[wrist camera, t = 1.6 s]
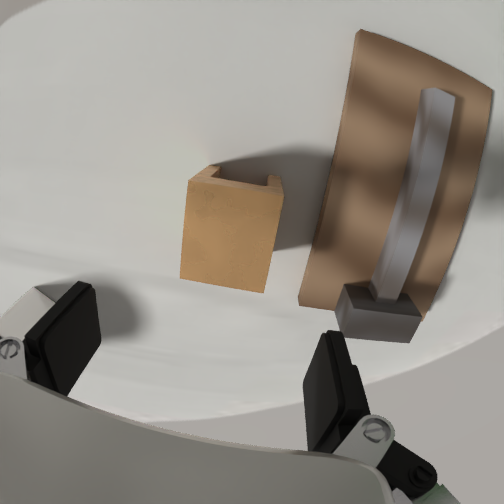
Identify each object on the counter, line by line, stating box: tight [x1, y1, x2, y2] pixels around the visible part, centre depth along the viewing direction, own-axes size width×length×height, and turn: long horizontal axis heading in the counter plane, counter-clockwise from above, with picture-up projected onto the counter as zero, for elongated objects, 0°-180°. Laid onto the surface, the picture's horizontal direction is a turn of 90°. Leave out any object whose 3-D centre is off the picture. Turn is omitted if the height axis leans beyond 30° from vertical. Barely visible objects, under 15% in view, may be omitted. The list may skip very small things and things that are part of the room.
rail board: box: [298, 29, 492, 343], centre depth 22 cm, size 25×14×6 cm, turn 171°
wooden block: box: [180, 165, 284, 293], centre depth 23 cm, size 7×6×7 cm
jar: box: [0, 287, 55, 341], centre depth 28 cm, size 9×8×12 cm
